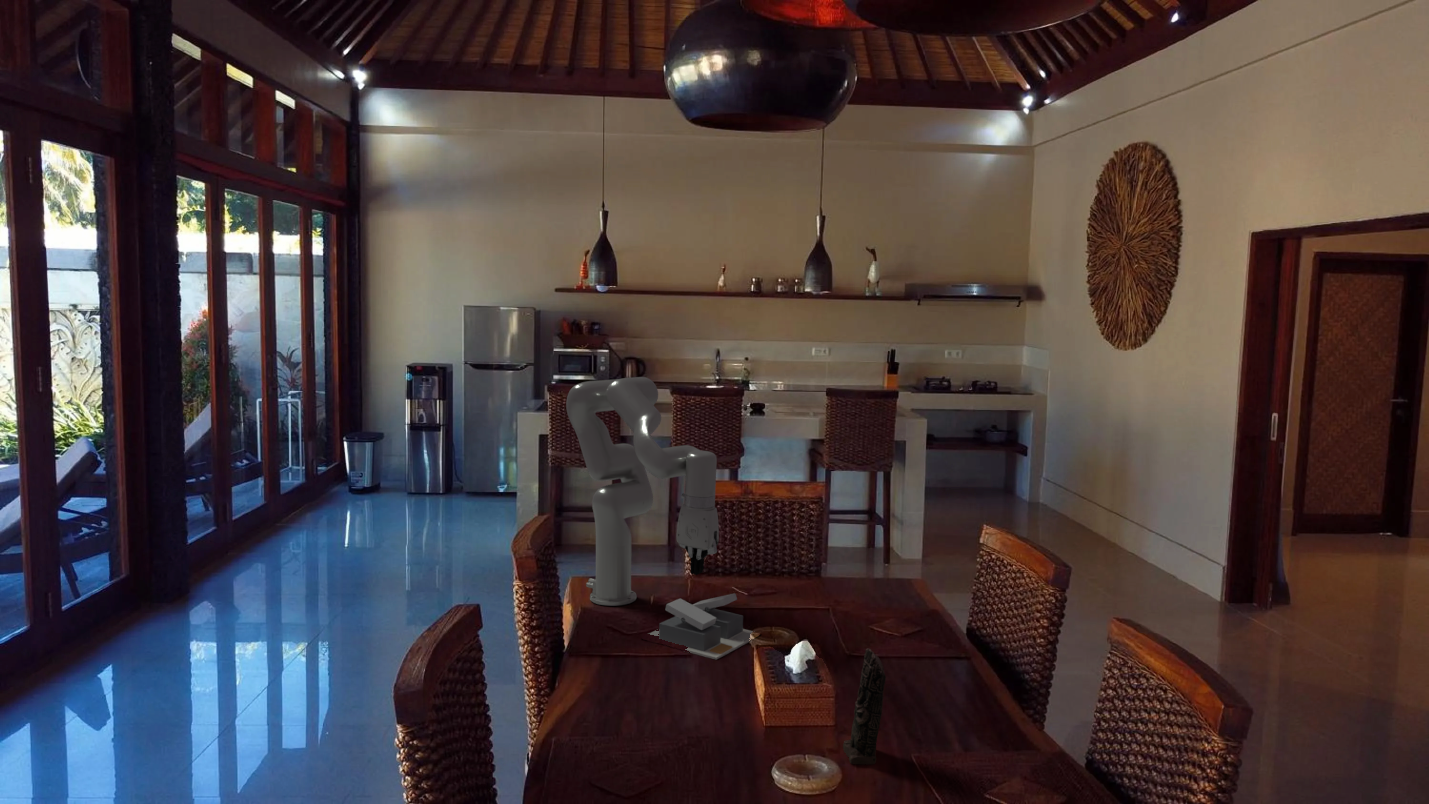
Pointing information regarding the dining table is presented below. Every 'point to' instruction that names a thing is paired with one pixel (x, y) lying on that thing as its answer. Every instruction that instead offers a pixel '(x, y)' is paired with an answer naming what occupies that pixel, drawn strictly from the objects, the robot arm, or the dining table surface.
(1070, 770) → the dining table surface
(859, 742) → the statue
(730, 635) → the switch board
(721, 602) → the switch
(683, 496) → the robot arm
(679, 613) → the switch
